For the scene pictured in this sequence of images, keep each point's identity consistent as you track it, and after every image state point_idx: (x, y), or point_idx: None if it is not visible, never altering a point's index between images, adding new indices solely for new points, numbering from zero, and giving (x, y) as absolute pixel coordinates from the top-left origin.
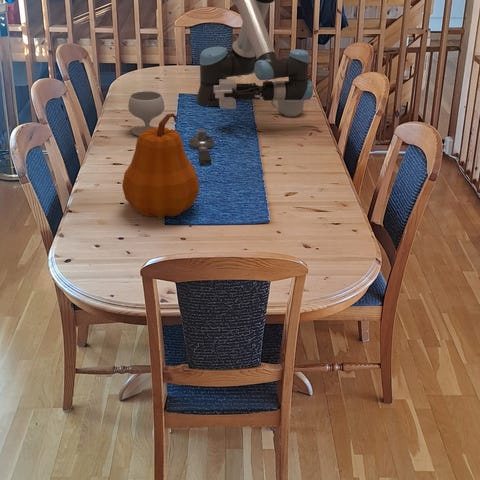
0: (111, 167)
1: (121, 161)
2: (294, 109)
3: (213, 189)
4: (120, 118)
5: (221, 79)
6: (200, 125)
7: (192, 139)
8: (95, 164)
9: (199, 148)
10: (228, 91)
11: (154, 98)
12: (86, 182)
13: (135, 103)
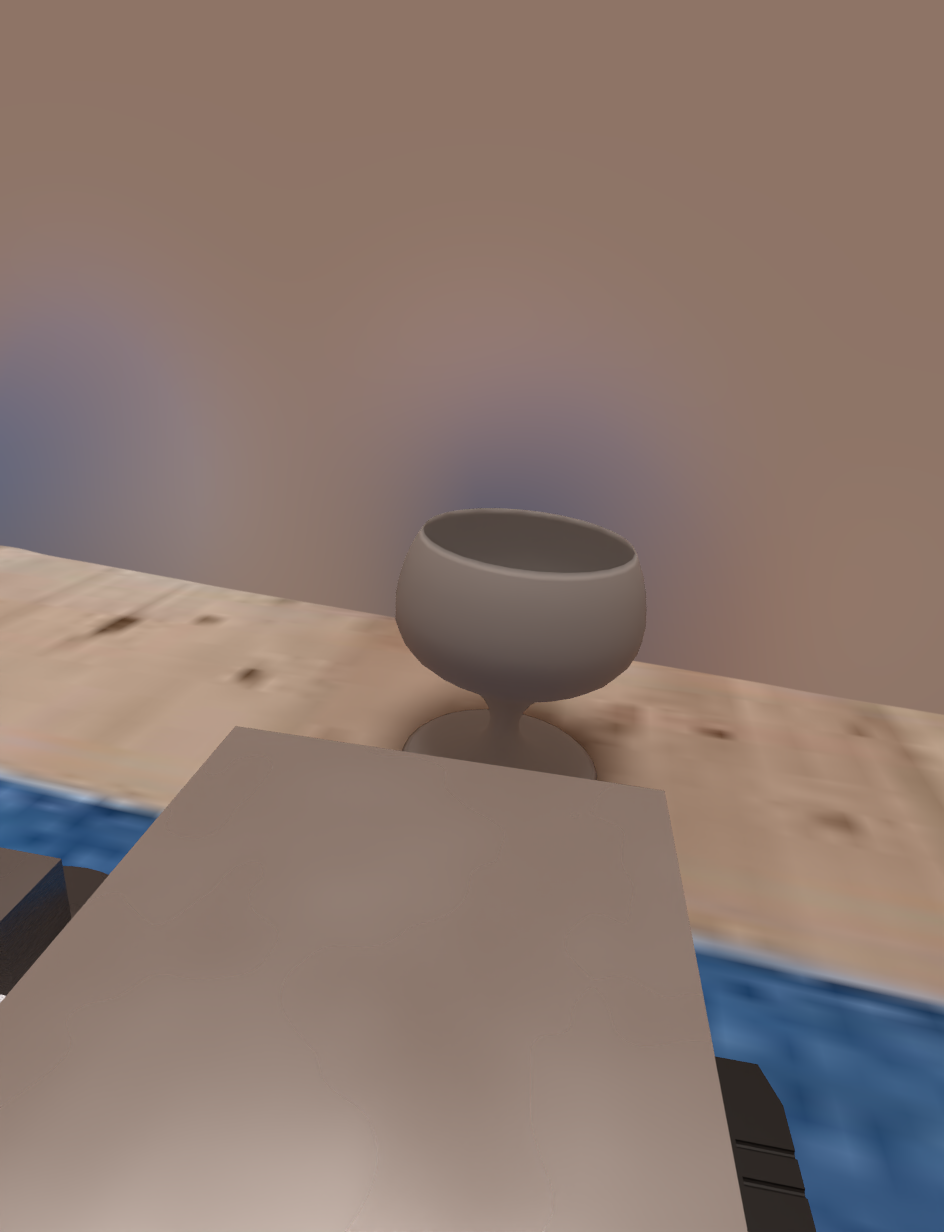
0: (100, 610)
1: (137, 636)
2: None
3: None
4: (756, 722)
5: (668, 830)
6: None
7: (82, 887)
8: (173, 592)
9: None
10: None
11: (630, 624)
12: (28, 561)
13: (450, 531)
